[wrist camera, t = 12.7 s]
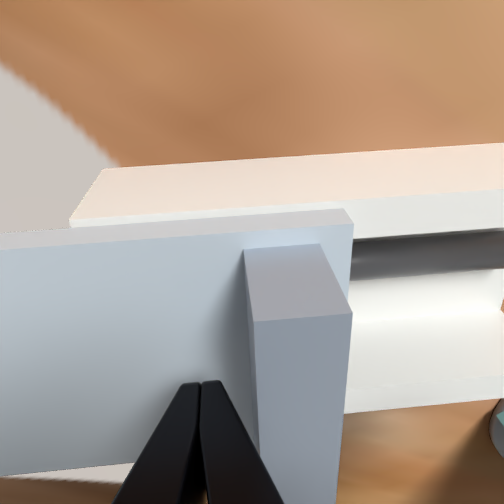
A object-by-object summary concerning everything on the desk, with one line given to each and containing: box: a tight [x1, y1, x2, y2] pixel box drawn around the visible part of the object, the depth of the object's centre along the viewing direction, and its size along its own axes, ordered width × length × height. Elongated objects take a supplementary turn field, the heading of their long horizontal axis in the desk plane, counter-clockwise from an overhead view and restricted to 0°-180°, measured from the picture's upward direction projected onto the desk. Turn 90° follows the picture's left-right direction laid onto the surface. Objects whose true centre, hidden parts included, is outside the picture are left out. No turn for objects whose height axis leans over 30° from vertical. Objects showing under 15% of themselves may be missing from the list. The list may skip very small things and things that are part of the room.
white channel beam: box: [69, 143, 504, 414], centre depth 13 cm, size 13×7×4 cm, turn 92°
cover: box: [0, 208, 354, 504], centre depth 10 cm, size 10×7×3 cm
